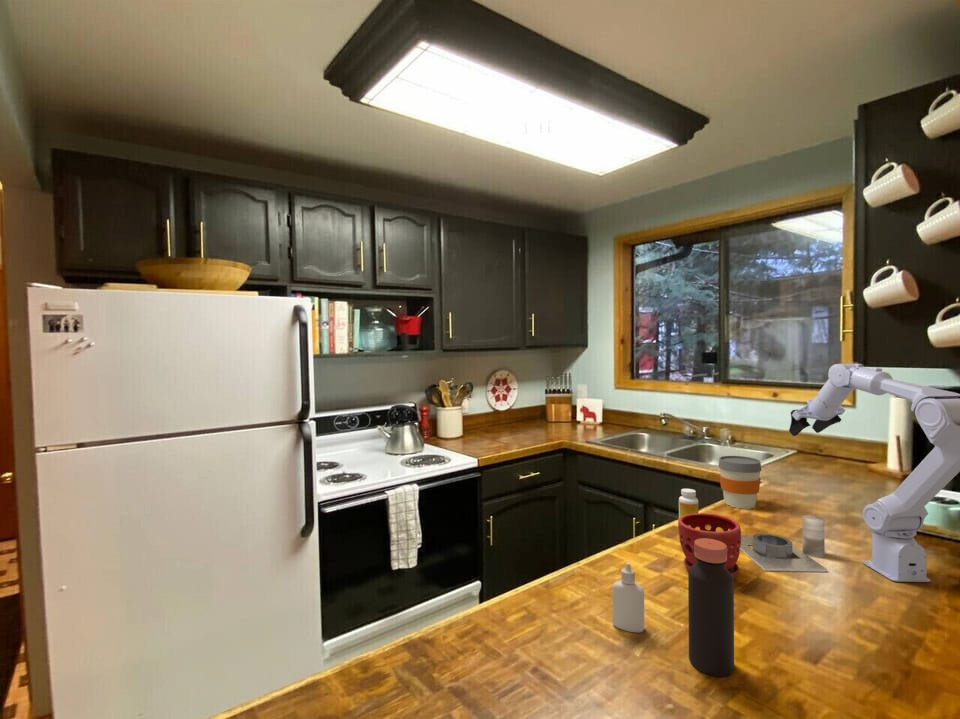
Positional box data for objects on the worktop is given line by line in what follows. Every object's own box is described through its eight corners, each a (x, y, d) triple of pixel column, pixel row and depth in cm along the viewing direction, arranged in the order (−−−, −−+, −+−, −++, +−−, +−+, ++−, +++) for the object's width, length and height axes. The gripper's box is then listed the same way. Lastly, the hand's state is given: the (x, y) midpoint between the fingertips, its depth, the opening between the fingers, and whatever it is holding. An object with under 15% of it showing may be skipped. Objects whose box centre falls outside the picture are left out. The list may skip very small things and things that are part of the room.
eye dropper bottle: (624, 616, 92) (623, 555, 92) (648, 630, 88) (648, 566, 87) (608, 623, 90) (608, 561, 90) (633, 638, 85) (632, 572, 85)
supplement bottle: (700, 526, 138) (700, 493, 138) (681, 525, 139) (680, 492, 139) (696, 519, 144) (695, 488, 144) (677, 518, 145) (677, 487, 145)
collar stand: (827, 571, 109) (827, 557, 109) (764, 570, 110) (764, 556, 110) (778, 537, 129) (778, 525, 129) (725, 537, 130) (725, 525, 130)
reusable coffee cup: (770, 507, 153) (770, 461, 153) (742, 513, 149) (742, 465, 149) (736, 496, 165) (736, 454, 165) (710, 501, 161) (709, 457, 160)
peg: (828, 557, 117) (828, 521, 116) (809, 557, 117) (809, 521, 117) (817, 550, 121) (816, 515, 121) (798, 549, 121) (798, 515, 121)
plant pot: (707, 556, 119) (707, 508, 118) (754, 579, 106) (754, 526, 106) (666, 565, 114) (666, 515, 114) (710, 590, 102) (710, 535, 101)
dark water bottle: (720, 650, 82) (719, 535, 81) (743, 677, 75) (742, 552, 74) (681, 651, 81) (680, 536, 81) (701, 678, 75) (700, 553, 74)
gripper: (841, 386, 130) (816, 418, 140) (795, 391, 128) (772, 423, 137) (860, 404, 125) (833, 437, 134) (813, 410, 123) (788, 443, 132)
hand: (803, 431), depth 135 cm, fingers open, 7 cm apart
